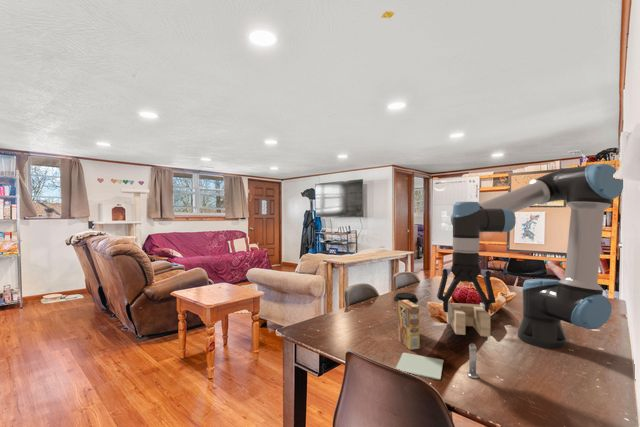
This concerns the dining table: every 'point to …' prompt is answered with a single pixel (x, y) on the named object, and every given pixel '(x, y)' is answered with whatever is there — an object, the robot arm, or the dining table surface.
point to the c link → (470, 318)
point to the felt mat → (421, 365)
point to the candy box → (408, 324)
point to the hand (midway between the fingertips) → (465, 323)
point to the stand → (472, 362)
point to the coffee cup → (404, 296)
